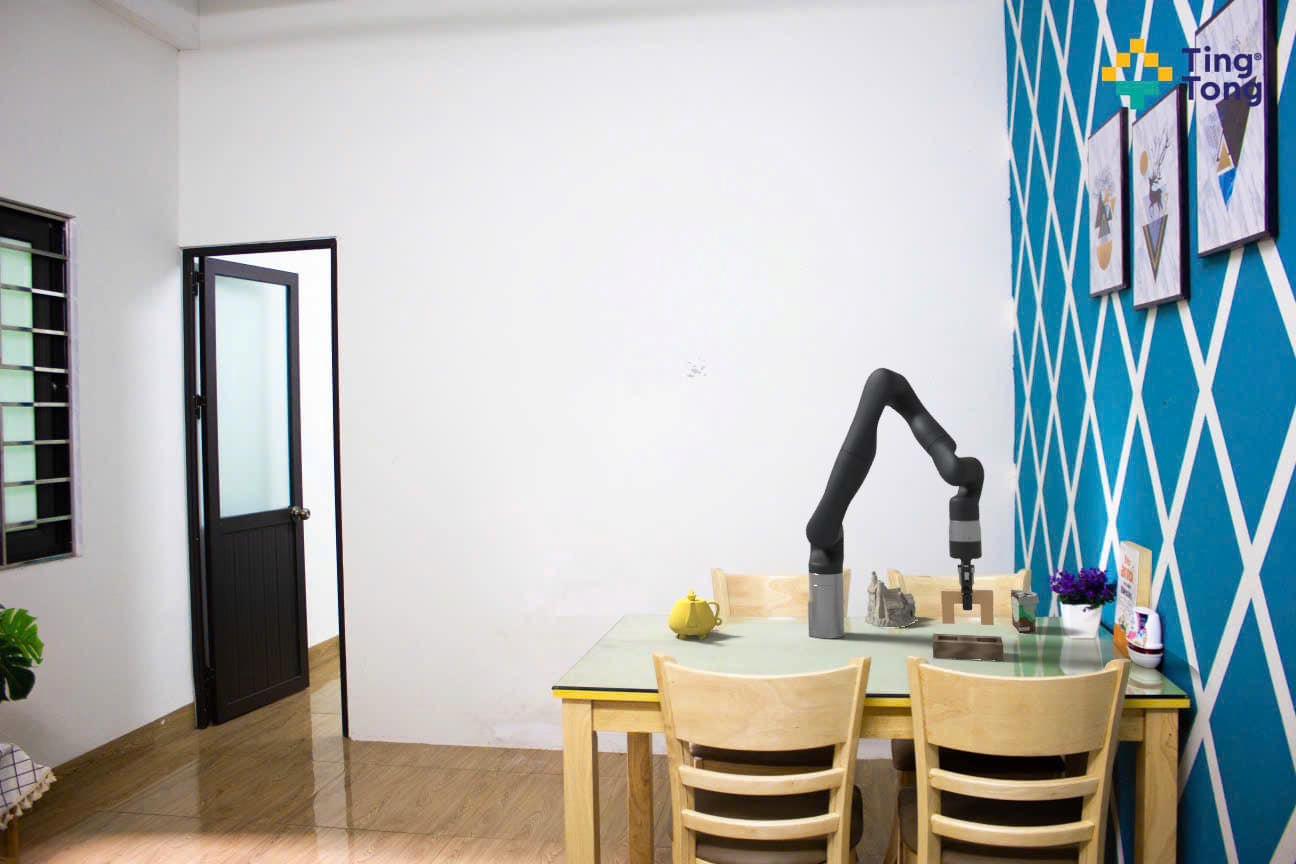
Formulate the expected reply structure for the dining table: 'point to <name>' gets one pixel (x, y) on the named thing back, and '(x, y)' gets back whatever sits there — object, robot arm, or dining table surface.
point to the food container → (1024, 610)
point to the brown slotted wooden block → (968, 647)
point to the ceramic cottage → (889, 605)
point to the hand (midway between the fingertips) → (967, 608)
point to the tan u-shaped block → (955, 597)
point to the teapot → (693, 617)
